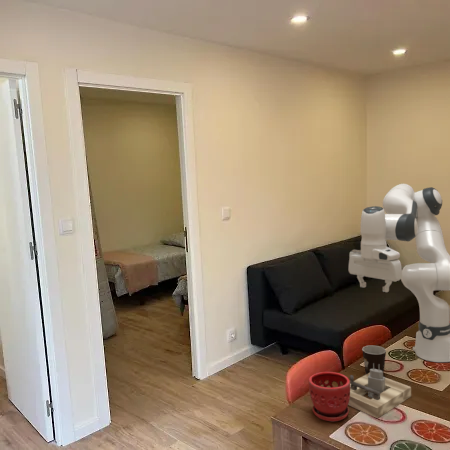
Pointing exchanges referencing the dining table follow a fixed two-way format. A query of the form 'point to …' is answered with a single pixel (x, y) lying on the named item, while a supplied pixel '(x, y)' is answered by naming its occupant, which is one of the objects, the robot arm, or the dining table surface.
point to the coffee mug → (374, 357)
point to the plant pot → (330, 395)
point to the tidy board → (377, 396)
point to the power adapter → (376, 381)
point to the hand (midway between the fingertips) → (374, 289)
